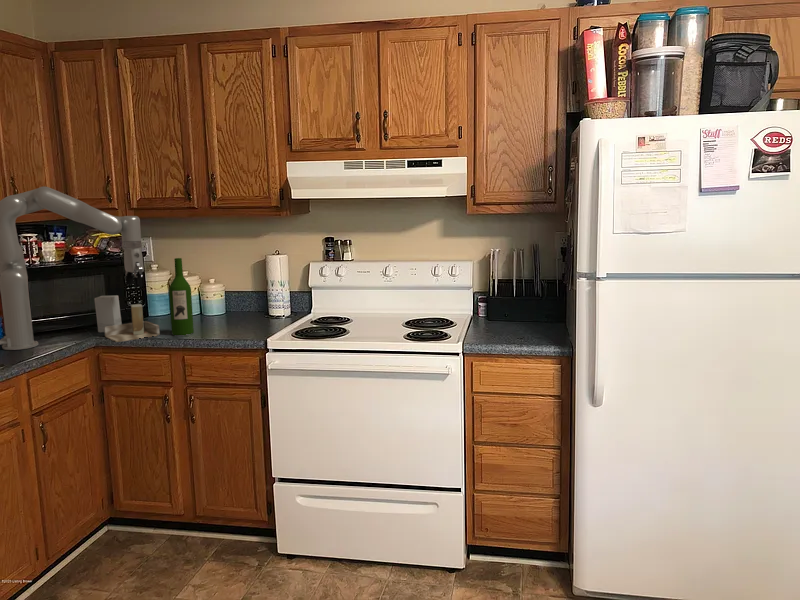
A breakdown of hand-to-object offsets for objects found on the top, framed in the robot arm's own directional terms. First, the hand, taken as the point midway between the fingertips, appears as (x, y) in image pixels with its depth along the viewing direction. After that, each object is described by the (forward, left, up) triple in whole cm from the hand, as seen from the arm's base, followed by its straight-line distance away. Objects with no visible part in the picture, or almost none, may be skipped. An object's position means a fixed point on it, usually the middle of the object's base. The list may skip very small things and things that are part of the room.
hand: (134, 285), depth 289 cm
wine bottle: (+15, -12, -22) cm, 29 cm away
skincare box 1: (-6, +17, -22) cm, 28 cm away
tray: (-3, -2, -21) cm, 22 cm away
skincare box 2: (0, 0, -21) cm, 21 cm away
